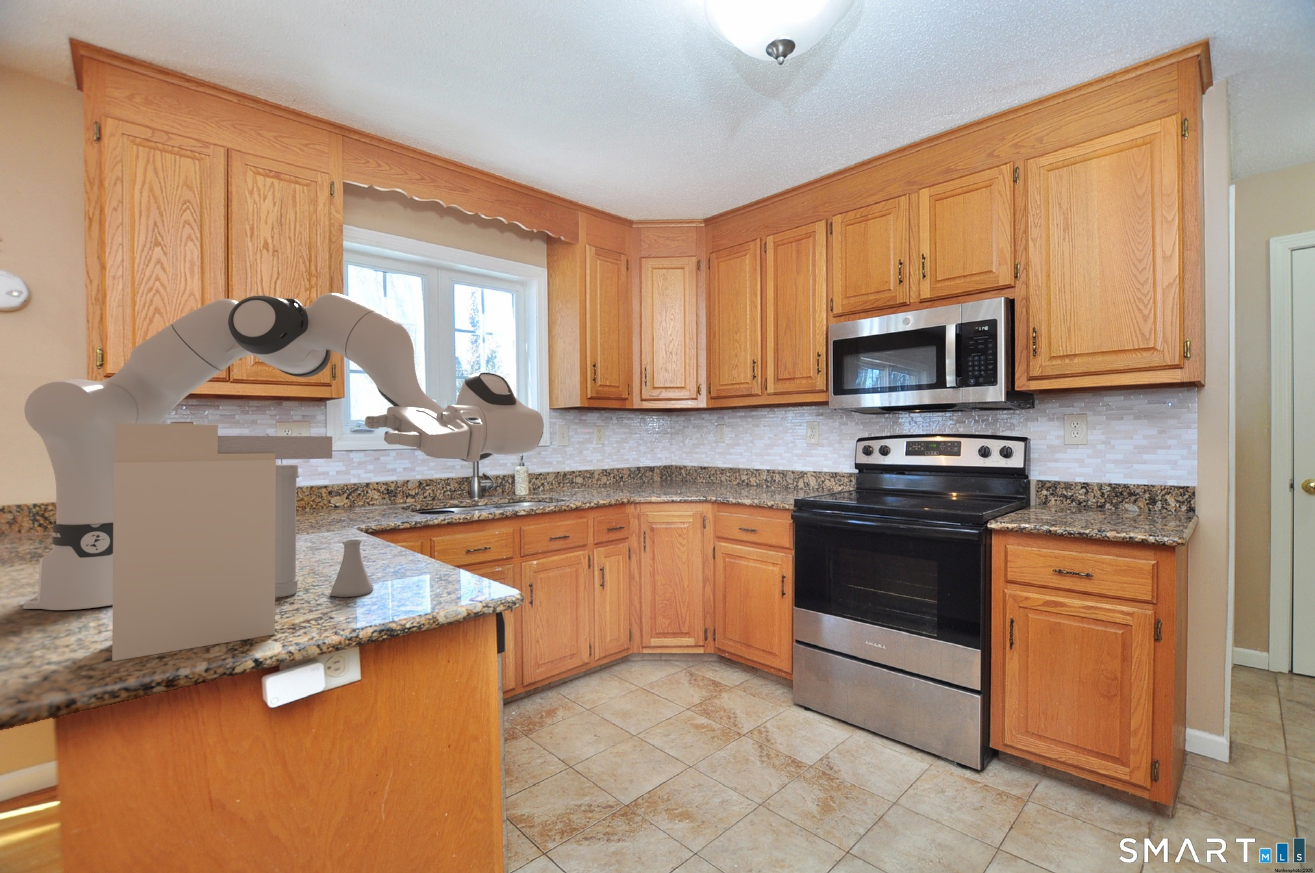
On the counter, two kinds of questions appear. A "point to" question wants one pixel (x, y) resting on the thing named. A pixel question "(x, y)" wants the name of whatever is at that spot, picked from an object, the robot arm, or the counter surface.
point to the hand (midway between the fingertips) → (375, 429)
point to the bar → (279, 446)
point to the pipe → (285, 530)
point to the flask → (351, 573)
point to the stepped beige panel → (190, 540)
